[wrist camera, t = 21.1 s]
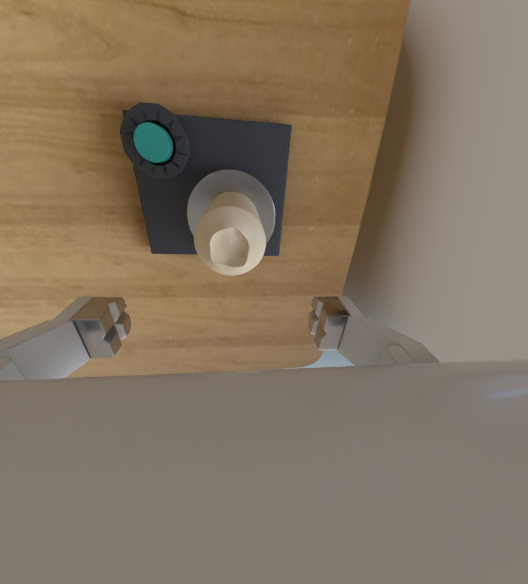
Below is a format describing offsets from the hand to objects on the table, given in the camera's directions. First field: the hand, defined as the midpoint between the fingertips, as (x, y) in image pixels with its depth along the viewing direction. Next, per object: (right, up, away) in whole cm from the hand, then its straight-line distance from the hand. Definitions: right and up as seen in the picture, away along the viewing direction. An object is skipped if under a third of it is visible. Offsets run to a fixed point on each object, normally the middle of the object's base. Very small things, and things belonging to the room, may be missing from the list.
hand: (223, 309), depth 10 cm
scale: (-4, +13, +17) cm, 21 cm away
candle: (-2, +9, +15) cm, 17 cm away
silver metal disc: (-2, +9, +15) cm, 18 cm away
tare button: (-8, +15, +11) cm, 20 cm away
